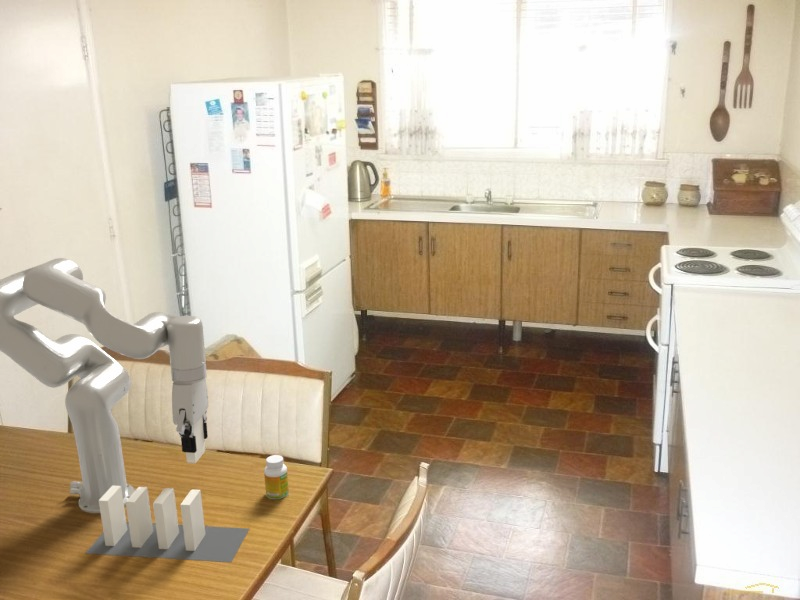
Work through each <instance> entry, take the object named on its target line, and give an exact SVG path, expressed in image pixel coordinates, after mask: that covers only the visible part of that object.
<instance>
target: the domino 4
mask: <svg viewBox="0 0 800 600" xmlns="http://www.w3.org/2000/svg"><path fill="white" fill-rule="evenodd" d="M185 423H190V421H188V420H186V422H185ZM185 429H188V430H189V431H190V426H185ZM194 436H195V437H196V448H197V451H196V452H195V453H188V452H185V455H186V463H187V464H196V463H197V462H198V461H199V459H200V458H202V456H203V454H204V453H205V452H206V444H205V440H206V439H204V430H203V417H201V418H200V419H199V420H198V421H197V422H196V423H195V424H194Z"/></svg>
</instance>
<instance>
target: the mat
mask: <svg viewBox="0 0 800 600" xmlns="http://www.w3.org/2000/svg"><path fill="white" fill-rule="evenodd" d="M126 523H127V531H126V532H125V534H124V535H123V536H122V537H121V539H120V540H119V541H118V542H117V544H116V545H115V546H106V545H105V538H104V532H103V531H102V533H101V534H100V535H99V537H98V538H97V539H96V540H95V541H94V542H93V543H92V545H91V546H90V547H89V548H88V549H87V551H85V554H87V555H88V554H89V555H105V556H107V555H108V556H121V557H123V556H124V557H136V558H137V557H138V558H154V559H168V560H169V559H171V560H185V561H186V560H187V561H202V562H219V563H221V562H222V563H232V562H233V560H234V559H235V556H236V554H237V553H238V551H239V549H240V547H241V546H242V544H243V541H244V539H246V537H247V535H248V533H249V531H250V528H249V527H248V528H246V527H244V528H243V527H230V526H229V527H225V526H208V525H206V526H205V525H204V526H205V536H204V537H203V539H202V541H201V542H200V544H199V545H198V547H197V548H196V550H195V551H188V550H186V547H185V539H184V530H183V524H178V527H179V534H178V535H177V537H176V538H175V540H174V541H173V543H172V544H171V545H170V547H169V548H168V549H159V546H158V538H157V531H156V523H155V522H152V526H153V532H152V534H151V535H150V536H149V538H148V539H147V540H146V542H145V543H144V544H143V546H142V547H141V548H138V547H132V543H131V536H130V529H129V522H128V521H126Z"/></svg>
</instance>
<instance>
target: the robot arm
mask: <svg viewBox="0 0 800 600" xmlns="http://www.w3.org/2000/svg"><path fill="white" fill-rule="evenodd" d="M106 299H107V297H106V293H105V291H104V290H103V288H101V287H99V286H96V285H93V284H92V283H90V282H87V281H84V276H83V270H82V269H81V268H80V266H79V265H78V264H77V263H76V262H74V261H73V260H71V259H67V258H63V257H58V258H54V259H51V260H49V261H46V262H44V263H42V264H39V265H36V266H34V267H33V266H32V267H29V268H27V269H25V270H21V271H19V272H16V273H13V274H11V275H8V276H5V277H3V278H2V279H0V352H2V354H4V355H6V356H7V357H8V358H10V359H11V360H13V361H14V362H15V363H16V364H17V365H18V366H20V367H21V368H22V369H24V370H25V372H27V373H28V374H30V375H31V376H32V377H33V378H34V379H36V380H38V381H39V382H40V383H41V384H43V385H44V386H46V387H48V388H54V389H55V388H59V387H62V386H64V385H65V384H67V383H69V382H70V381H72V380H73V379H74V378H76V377H79V379H78V380H76V382H74V383H73V384H72V385H71V387H70V388H69V389H68V391H67V393H66V395H65V399H64V403H65V409H66V413H67V415H68V417H69V420H70V422H71V423H70V424H71V425H72V429H73V433H74V434H73V435H74V439H75V444H76V449H77V455H78V461H79V469H80V475H81V480H82V481H79V480H78V481H74V480H72V481H71V482H70V485H69V487H70V490H69V493H70V495H79V496H80V498H79V499H78V507H79V508H80V510H82V511H83V512H86V513H88V514H101V513H100V506H99V499H100V498H101V497H102V496H103V495H104V494H105V493H106V492H107V491H108V490H109V489H110V488H111V486H112V485H113V486H121V489H122V496H123V502H124V507H125V506H126V501H127V500H128V498H129V497H130V496H131V495H132V494H133V493H134V491H135V490H136V489H135V487H134V486H133V485H131V484H129V483H127V476H126V469H125V462H124V456H123V448H122V442H121V441H122V440H121V435H120V428H119V425H118V422H117V420H116V418H114V416H113V413H112V408H113V407H115V406H116V405H117V403H118V402H120V401H121V400H122V399H123V398H124V397H125V396H126V395H127V394H128V393H129V391H130V389H131V386H132V385H131V384H132V379H131V376H130V374H129V372H128V371H127V370H126V368H125V366H123V365H122V364H121V363H120V362H119V361H117V360H116V359H115V358H113V357H112V356H111V355H110V354H108V353H107V352H106V351H105V350H104V349H102V348H101V347H100V346H99V345H97V344H96V343H95V342H93V341H92V340H91V339H89V338H88V337H85V336H83V335H81V334H75V333H73V334H72V333H71V334H64V335H63V336H61V337H59V338H57V339H55V340H54V339H51V338H50V337H49V336H48V335H46V334H44V333H43V332H42V331H41V330H39V328H37V327H35V326H34V325H31V324H30V323H27V322H24V321H21V320H18V319H17V318H15V316H16V315H19V314H21V313H22V312H24V311H26V310H28V309H30V308H32V307H35V306H36V305H40V306H42V307H45V308H46V309H49V310H51V311H54V312H56V313H58V314H61V315H63V316H65V317H67V318H70V319H72V320H75V321H76V322H78V323H81V324H82V325H84V326H85V328H86V329H87V331H88V332H89V334H90V335H91V336H92V337H93V338H94V339H95V340H96V341H97V342H98V343H99V344H100V345H102V346H104V347H105V348H107V349H109V350H111V351H113V352H115V353H117V354H119V355H122V356H125V357H128V358H130V359H136V360H144V359H147V358H150V357H151V356H153V355H154V354H155V353H157V352H158V351H159V350H160V349H162V348H163V347H166V346H168V351H169V363H170V365H169V366H170V375H171V381H172V387H171V390H172V391H171V410H172V423H173V425H176V429H175V431H176V432H177V433H178V434H179V438H180V441H181V442H180V443H181V451H182V453H186V452H188V453H195V452H196V451H197V448H196V437H195V436H194V424H195V423H196V422H197V421H198V420H199V419H200V418H201V417H203V430H204V440H206V439H208V435H209V434H208V425H207V422H208V421H207V420H208V417H207V411H208V409H209V396H208V392H209V391H208V386H207V381H206V380H207V376H208V375H207V364H206V361H207V360H206V350H205V338H204V337H205V336H204V326H203V321H202V320H201V319H200V318H199V317H197V316H193V315H182V316H181V315H175V314H170V313H167V312H160V311H158V312H157V311H155V312H151V313H148V314H147V315H145V316H144V317H143V318H141V319H139V320H138V321H136V322H135V323H134V324H133V323H131V322H128V321H126V320H123V319H121V318H119V317H117V316H115V315H114V314H112V313H111V312H110V311H109V310H108V309H107V307H106V306H105V304H106ZM186 420H188V421H190V423H185V422H186ZM185 426H190V431H189V430H188V429H185Z"/></svg>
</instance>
